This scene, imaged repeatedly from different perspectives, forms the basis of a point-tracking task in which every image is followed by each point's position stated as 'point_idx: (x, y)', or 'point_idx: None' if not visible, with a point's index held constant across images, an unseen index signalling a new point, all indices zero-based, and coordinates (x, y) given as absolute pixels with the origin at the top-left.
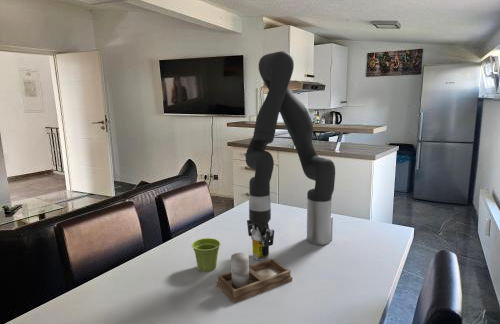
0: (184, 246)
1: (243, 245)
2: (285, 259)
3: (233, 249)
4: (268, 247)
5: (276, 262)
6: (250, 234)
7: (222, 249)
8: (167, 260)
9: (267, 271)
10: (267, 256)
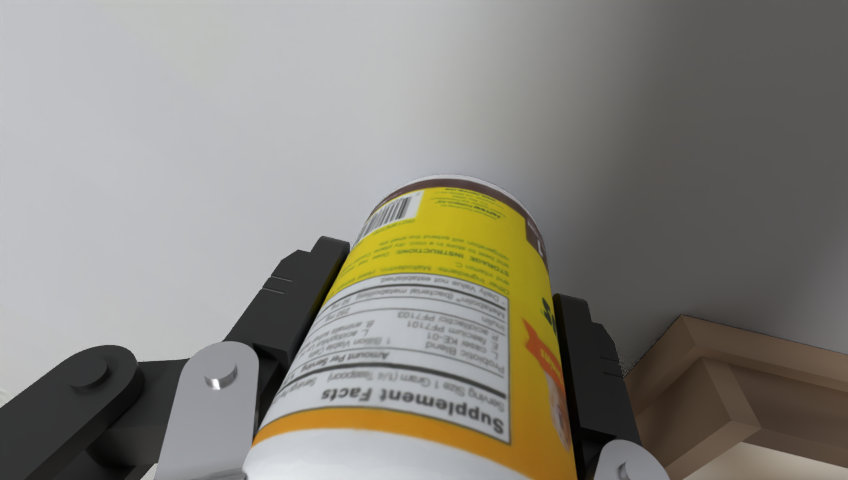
0: (26, 381)
1: (96, 155)
2: (805, 81)
3: (160, 270)
4: (635, 434)
5: (844, 455)
6: (153, 462)
7: (131, 311)
8: None
9: (730, 451)
10: (544, 249)
